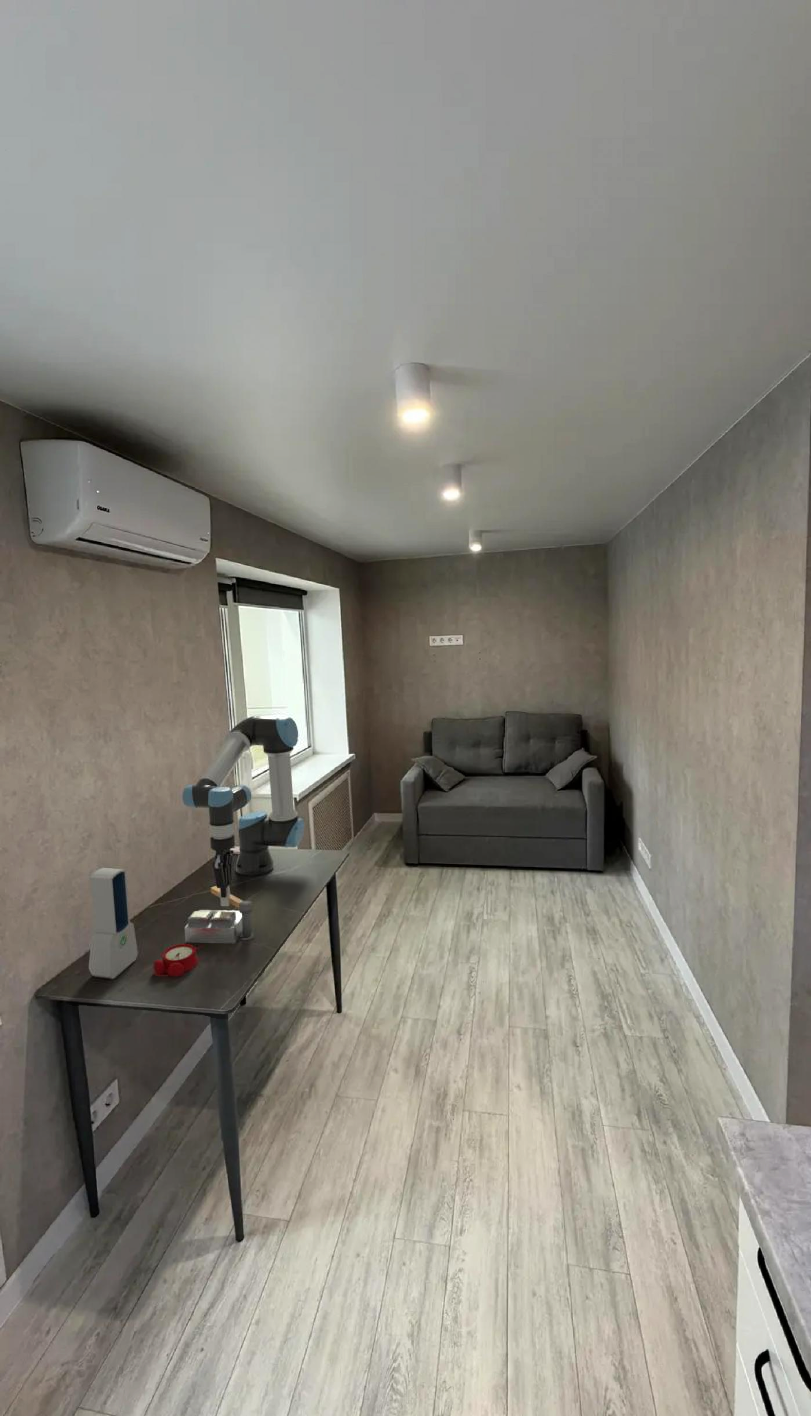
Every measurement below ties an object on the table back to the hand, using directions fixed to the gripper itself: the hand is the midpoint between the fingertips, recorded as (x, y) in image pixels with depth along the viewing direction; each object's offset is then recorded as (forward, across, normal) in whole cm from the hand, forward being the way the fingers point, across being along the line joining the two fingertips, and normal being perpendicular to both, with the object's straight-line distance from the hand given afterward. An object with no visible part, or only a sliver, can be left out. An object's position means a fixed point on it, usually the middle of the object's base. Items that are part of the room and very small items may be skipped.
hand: (225, 905), depth 198 cm
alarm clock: (+10, +22, -7) cm, 25 cm away
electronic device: (+10, +23, -26) cm, 36 cm away
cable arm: (+8, -2, +1) cm, 9 cm away
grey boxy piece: (+9, +2, 0) cm, 9 cm away
